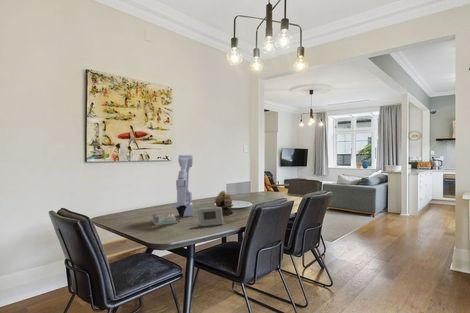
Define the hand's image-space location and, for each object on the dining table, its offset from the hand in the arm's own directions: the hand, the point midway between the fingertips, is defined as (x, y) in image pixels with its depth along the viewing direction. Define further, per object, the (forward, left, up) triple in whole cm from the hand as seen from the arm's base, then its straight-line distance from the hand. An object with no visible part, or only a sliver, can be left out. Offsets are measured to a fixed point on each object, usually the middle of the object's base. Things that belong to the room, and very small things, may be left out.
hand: (181, 217), depth 193 cm
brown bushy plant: (-36, -12, -3) cm, 38 cm away
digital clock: (-14, +18, -3) cm, 23 cm away
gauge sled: (+8, 0, -1) cm, 8 cm away
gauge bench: (+11, 0, -2) cm, 11 cm away
